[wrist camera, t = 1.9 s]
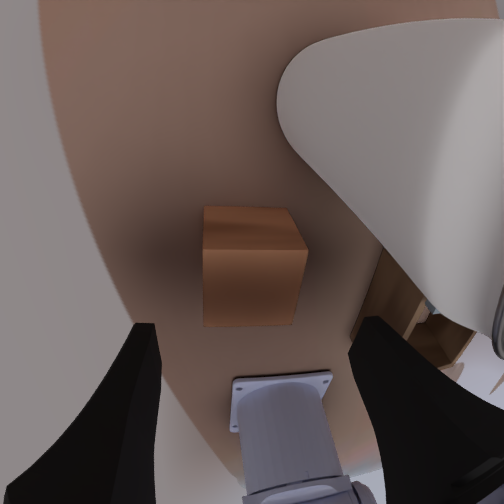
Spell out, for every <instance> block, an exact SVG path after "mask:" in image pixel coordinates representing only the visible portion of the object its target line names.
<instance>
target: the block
mask: <svg viewBox="0 0 504 504" xmlns="http://www.w3.org/2000/svg"><path fill="white" fill-rule="evenodd" d="M308 251H309V250H308V248H307V246H306V244H305V242H304V240H303V238H302V236H301V235H300V233H299V231H298V229H297V227H296V225H295V223H294V221H293V219H292V217H291V215H290V214H289V212H288V210H287V208H271V207H237V206H204V222H203V322H204V327H238V326H272V325H292V322H293V318H294V314H295V310H296V305H297V301H298V297H299V292H300V288H301V284H302V279H303V275H304V270H305V265H306V261H307V256H308Z"/></svg>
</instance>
